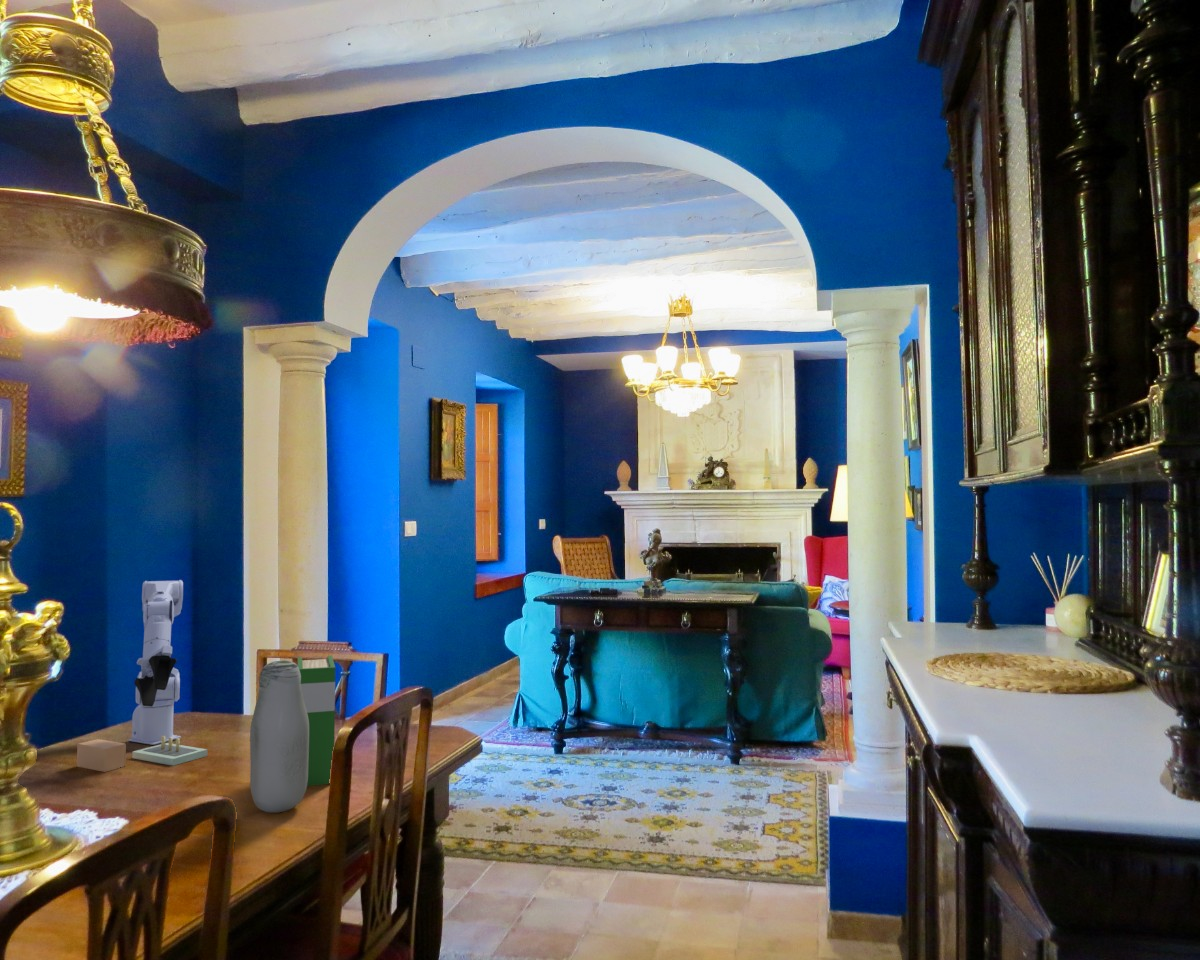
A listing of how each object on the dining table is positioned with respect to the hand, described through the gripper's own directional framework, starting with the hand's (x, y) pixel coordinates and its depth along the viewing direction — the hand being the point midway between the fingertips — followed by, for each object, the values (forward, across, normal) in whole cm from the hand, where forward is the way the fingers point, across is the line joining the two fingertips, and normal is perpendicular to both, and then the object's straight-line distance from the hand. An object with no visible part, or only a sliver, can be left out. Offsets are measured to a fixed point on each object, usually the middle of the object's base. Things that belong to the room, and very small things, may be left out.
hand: (154, 697), depth 194 cm
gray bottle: (+41, +34, +12) cm, 54 cm away
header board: (+9, -10, +8) cm, 16 cm away
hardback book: (+27, +20, +27) cm, 43 cm away
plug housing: (+10, -14, -6) cm, 18 cm away
